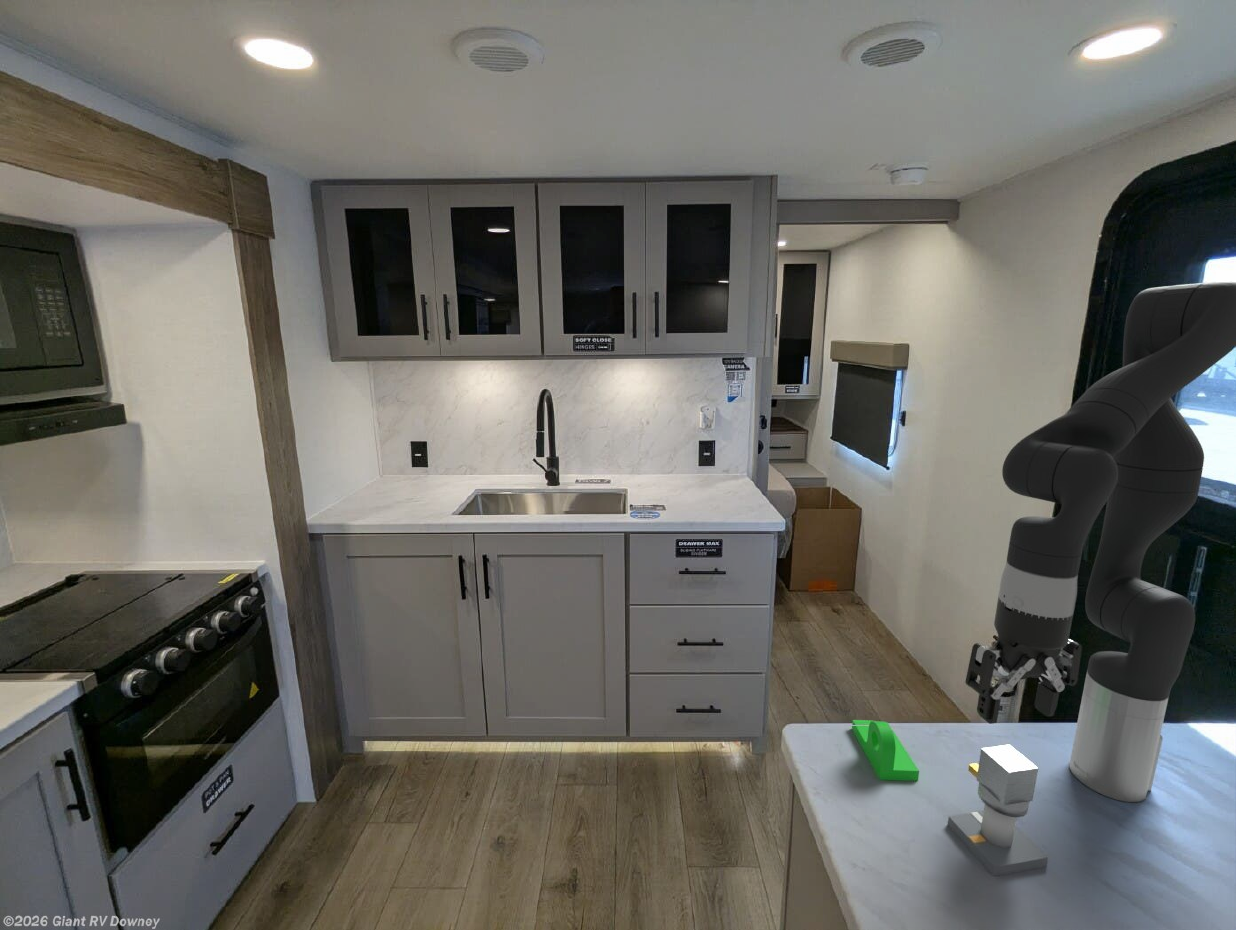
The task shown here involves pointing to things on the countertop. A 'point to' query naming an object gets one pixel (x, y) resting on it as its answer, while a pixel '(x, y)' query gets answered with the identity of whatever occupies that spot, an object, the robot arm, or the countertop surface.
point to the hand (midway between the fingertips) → (1015, 715)
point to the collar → (1005, 780)
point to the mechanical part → (885, 751)
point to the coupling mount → (997, 841)
